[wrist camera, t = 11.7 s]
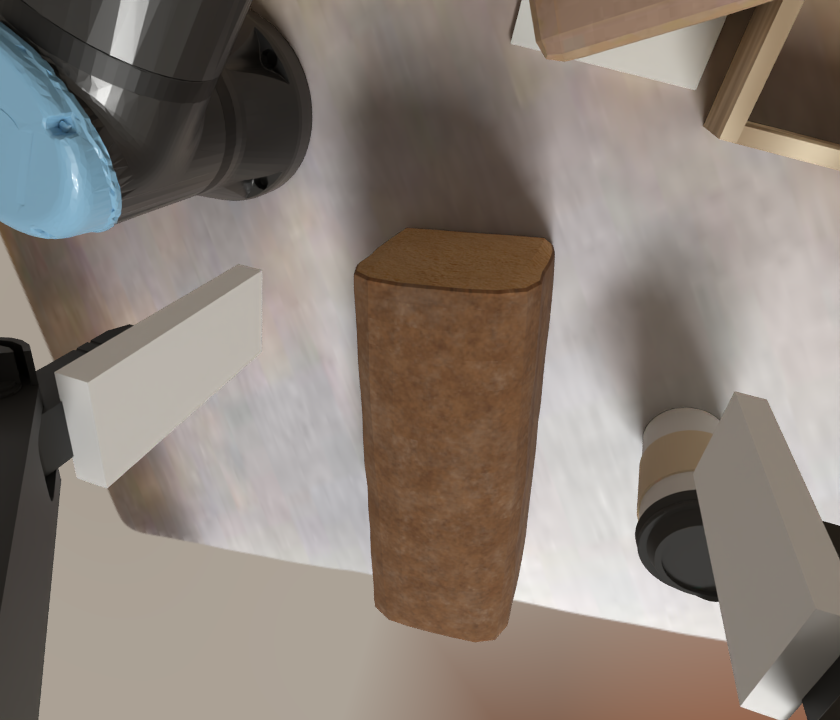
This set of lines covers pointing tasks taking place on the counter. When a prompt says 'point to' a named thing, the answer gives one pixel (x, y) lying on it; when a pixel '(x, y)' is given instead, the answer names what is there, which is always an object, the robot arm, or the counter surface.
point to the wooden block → (617, 22)
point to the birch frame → (747, 84)
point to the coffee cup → (674, 502)
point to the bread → (451, 420)
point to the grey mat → (646, 51)
